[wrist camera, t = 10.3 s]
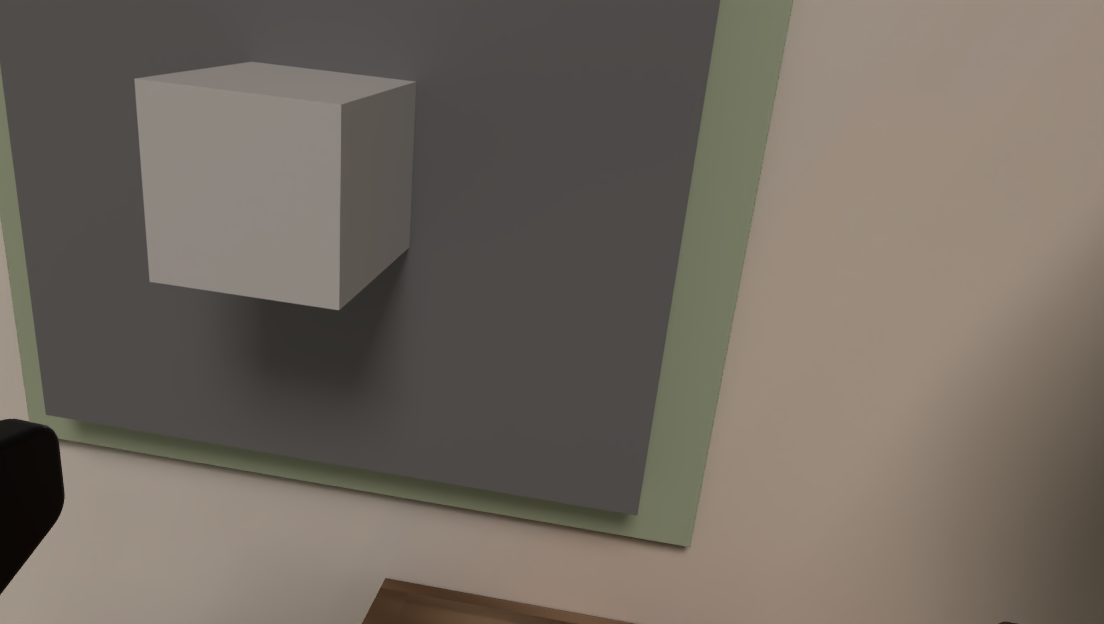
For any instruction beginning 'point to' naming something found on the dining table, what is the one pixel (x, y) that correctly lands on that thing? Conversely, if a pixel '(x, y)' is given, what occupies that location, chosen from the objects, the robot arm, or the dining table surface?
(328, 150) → the lid
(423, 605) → the storage box
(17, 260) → the mat
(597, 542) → the dining table surface
